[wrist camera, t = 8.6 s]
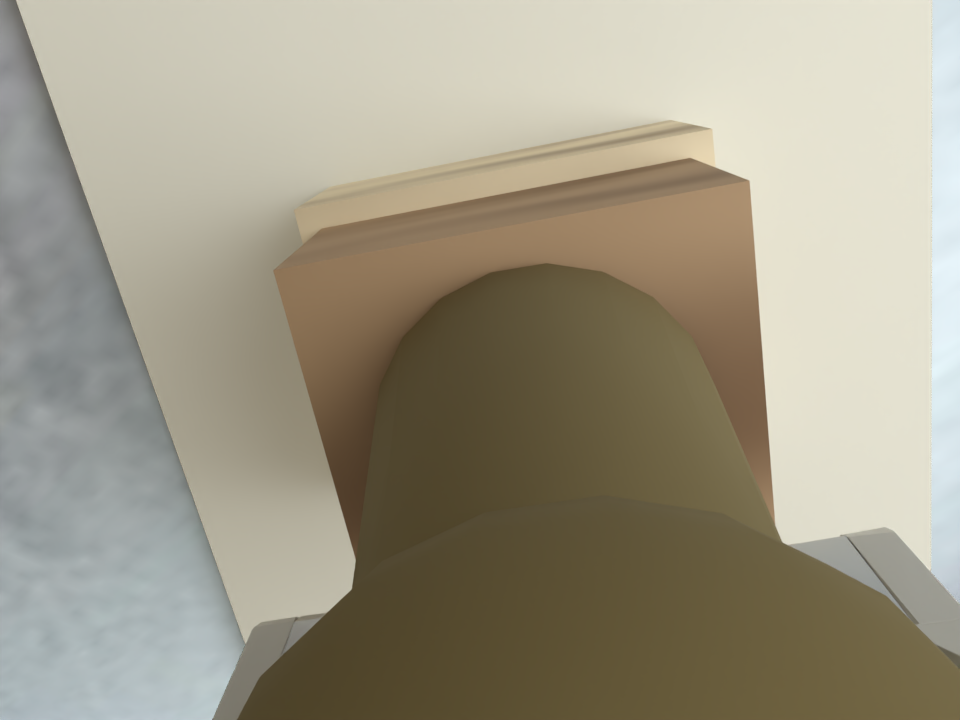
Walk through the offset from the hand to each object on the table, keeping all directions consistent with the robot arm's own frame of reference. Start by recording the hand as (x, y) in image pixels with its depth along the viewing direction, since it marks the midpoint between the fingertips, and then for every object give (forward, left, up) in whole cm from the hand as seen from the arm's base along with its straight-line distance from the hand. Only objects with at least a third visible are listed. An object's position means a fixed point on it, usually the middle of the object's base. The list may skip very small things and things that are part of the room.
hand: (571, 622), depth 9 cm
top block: (0, 0, -9) cm, 9 cm away
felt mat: (0, 0, -14) cm, 14 cm away
